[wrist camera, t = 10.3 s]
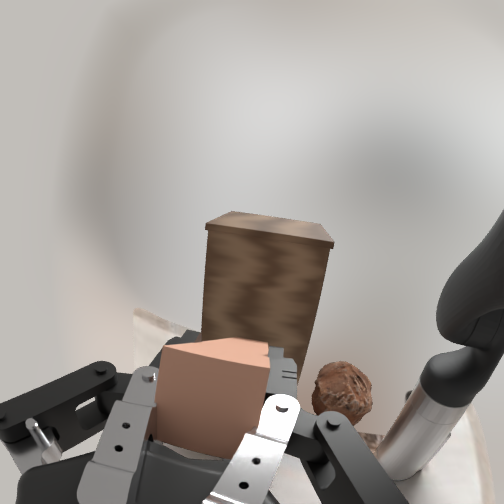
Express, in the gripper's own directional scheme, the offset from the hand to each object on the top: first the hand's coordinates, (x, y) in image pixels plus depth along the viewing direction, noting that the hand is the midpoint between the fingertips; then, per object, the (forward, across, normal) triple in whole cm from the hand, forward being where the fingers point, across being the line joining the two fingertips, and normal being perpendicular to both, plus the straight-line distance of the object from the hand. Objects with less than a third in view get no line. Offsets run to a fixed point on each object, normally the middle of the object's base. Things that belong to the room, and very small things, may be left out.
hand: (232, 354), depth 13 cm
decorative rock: (+26, -17, +30) cm, 43 cm away
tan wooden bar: (+3, 0, +6) cm, 6 cm away
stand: (+26, 0, +29) cm, 39 cm away
